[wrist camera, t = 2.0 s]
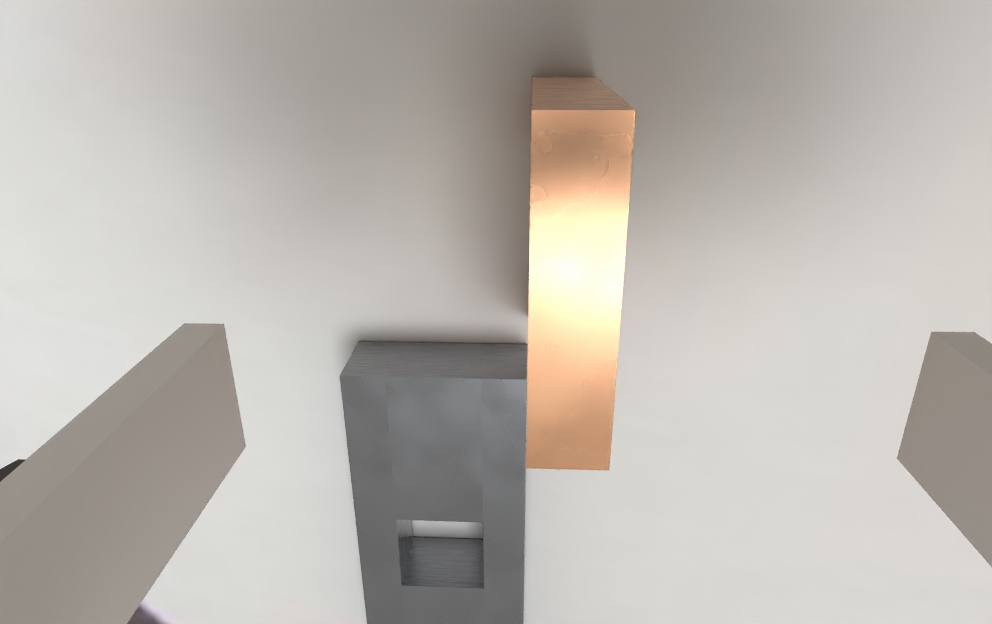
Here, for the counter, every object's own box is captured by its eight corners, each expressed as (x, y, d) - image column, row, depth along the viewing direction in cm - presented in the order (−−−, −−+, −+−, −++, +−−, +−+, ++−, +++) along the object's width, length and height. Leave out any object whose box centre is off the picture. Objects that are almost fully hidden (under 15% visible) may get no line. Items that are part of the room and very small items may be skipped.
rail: (358, 341, 28) (339, 375, 25) (527, 344, 27) (526, 379, 25) (396, 729, 37) (385, 785, 35) (521, 735, 37) (520, 792, 34)
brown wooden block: (531, 76, 23) (531, 110, 14) (595, 76, 23) (635, 110, 14) (528, 317, 27) (526, 467, 18) (583, 318, 27) (609, 470, 18)
